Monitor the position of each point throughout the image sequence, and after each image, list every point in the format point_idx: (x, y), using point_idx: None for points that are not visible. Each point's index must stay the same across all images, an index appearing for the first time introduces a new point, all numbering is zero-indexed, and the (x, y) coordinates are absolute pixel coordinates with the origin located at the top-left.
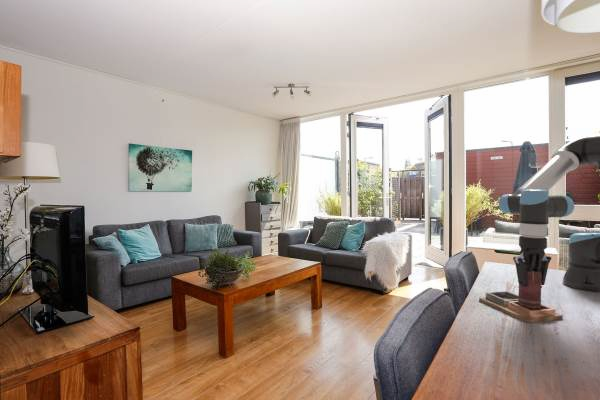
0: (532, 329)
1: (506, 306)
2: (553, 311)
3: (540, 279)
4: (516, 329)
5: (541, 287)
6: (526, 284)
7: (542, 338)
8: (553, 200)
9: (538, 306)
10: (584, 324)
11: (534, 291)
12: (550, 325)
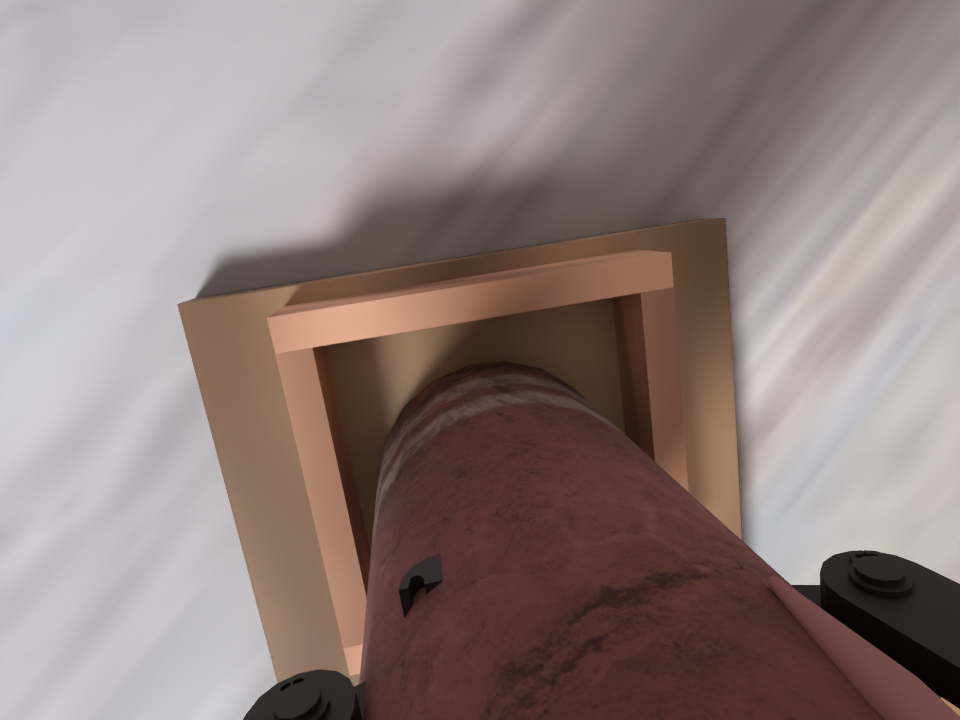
0: (774, 46)
1: None
2: (304, 308)
3: (536, 710)
4: (931, 64)
5: (421, 569)
6: (901, 572)
7: None
8: None
9: (479, 382)
10: (30, 126)
11: (623, 471)
12: (491, 132)
